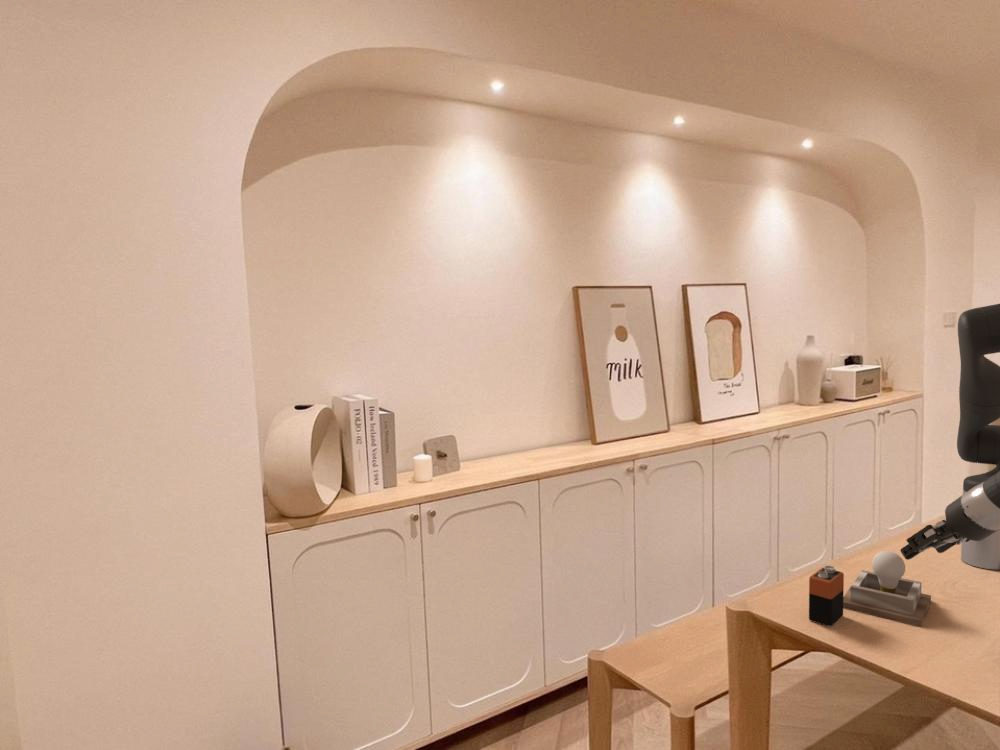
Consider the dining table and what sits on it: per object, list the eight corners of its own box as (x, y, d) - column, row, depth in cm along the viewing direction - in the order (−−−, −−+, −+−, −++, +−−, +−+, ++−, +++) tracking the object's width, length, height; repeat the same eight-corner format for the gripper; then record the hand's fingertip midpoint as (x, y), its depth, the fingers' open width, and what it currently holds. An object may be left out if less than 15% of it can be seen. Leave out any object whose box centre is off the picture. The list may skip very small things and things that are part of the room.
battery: (844, 616, 128) (844, 567, 128) (831, 627, 124) (831, 577, 123) (821, 609, 132) (821, 562, 131) (807, 620, 127) (808, 571, 126)
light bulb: (893, 607, 129) (894, 559, 128) (865, 596, 134) (866, 550, 133) (910, 600, 132) (912, 553, 131) (882, 590, 137) (883, 544, 136)
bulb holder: (855, 584, 143) (856, 566, 143) (930, 600, 134) (931, 581, 133) (840, 606, 132) (840, 587, 132) (920, 626, 123) (921, 605, 123)
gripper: (996, 487, 118) (934, 529, 130) (940, 496, 113) (881, 539, 125) (1026, 523, 113) (959, 564, 125) (969, 534, 109) (905, 575, 120)
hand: (920, 551), depth 125 cm, fingers open, 8 cm apart
